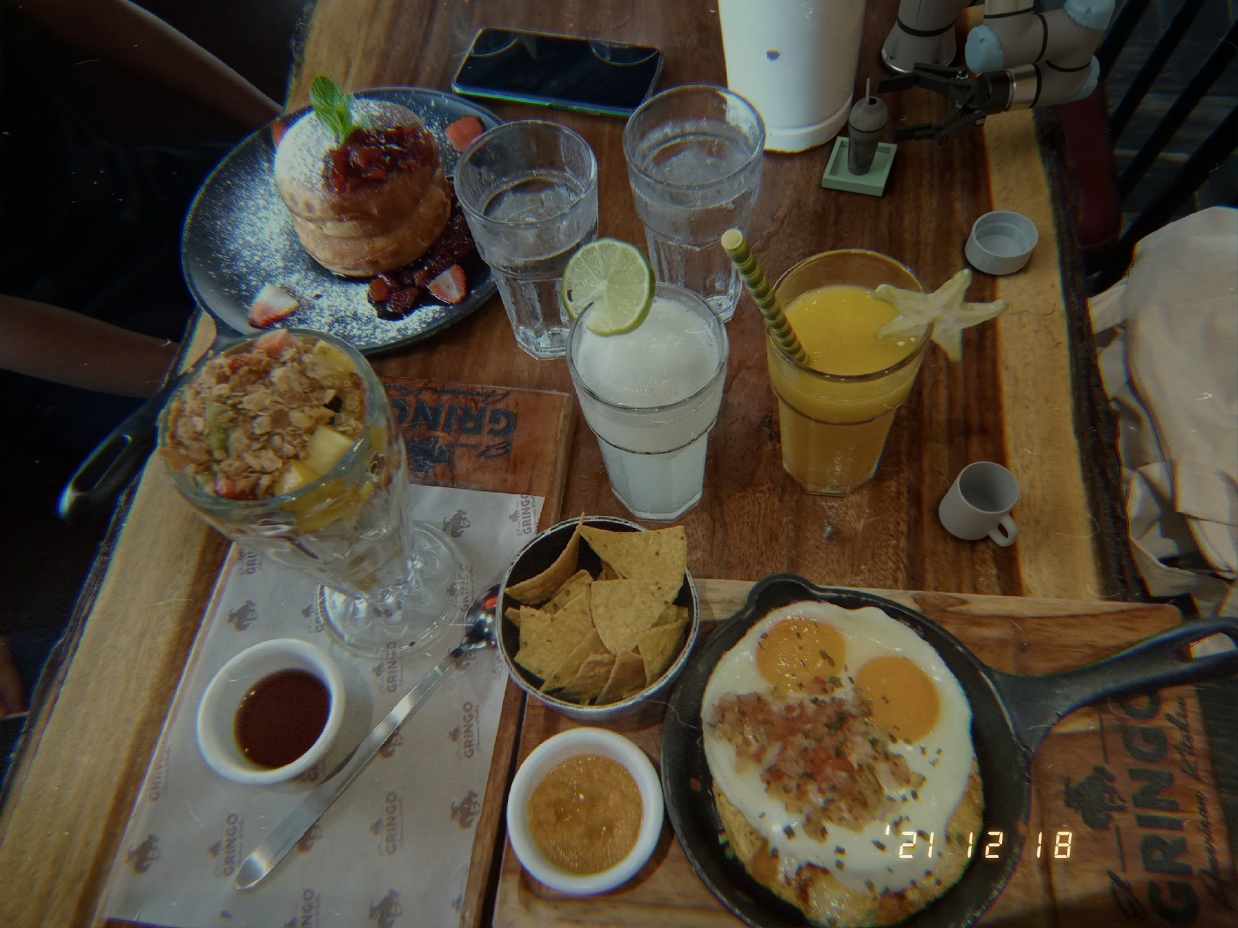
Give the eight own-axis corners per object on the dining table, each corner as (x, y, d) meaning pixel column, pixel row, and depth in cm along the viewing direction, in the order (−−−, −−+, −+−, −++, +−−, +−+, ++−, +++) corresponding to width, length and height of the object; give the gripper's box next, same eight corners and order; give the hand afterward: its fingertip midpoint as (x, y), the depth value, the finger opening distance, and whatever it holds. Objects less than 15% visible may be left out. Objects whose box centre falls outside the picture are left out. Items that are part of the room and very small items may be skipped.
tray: (836, 145, 153) (837, 136, 151) (895, 154, 150) (897, 144, 148) (821, 186, 149) (822, 177, 147) (881, 196, 146) (883, 187, 143)
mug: (926, 506, 117) (944, 477, 107) (971, 481, 117) (993, 450, 107) (976, 569, 111) (999, 544, 101) (1023, 542, 112) (1051, 516, 102)
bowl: (970, 225, 139) (978, 205, 135) (1032, 236, 136) (1042, 216, 132) (959, 269, 135) (966, 250, 131) (1023, 281, 132) (1033, 262, 128)
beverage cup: (876, 181, 146) (895, 93, 129) (839, 180, 148) (852, 92, 130) (878, 155, 149) (897, 65, 132) (841, 154, 151) (855, 65, 133)
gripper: (1016, 154, 133) (897, 173, 135) (977, 66, 144) (868, 85, 146) (1031, 119, 126) (905, 139, 128) (989, 29, 137) (874, 49, 140)
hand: (885, 110), depth 137 cm, fingers open, 13 cm apart
